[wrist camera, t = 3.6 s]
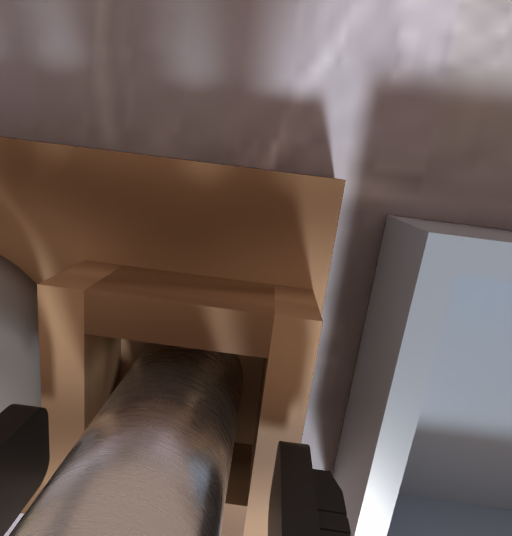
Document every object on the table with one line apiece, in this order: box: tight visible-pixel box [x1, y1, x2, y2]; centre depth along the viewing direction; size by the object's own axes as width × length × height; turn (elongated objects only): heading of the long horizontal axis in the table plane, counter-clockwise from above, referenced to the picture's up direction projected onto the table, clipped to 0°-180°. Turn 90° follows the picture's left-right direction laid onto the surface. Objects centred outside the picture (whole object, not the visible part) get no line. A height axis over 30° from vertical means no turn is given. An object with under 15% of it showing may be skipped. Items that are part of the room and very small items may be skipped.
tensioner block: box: [0, 137, 346, 536], centre depth 12 cm, size 14×16×5 cm
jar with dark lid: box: [9, 343, 243, 536], centre depth 8 cm, size 5×5×10 cm
